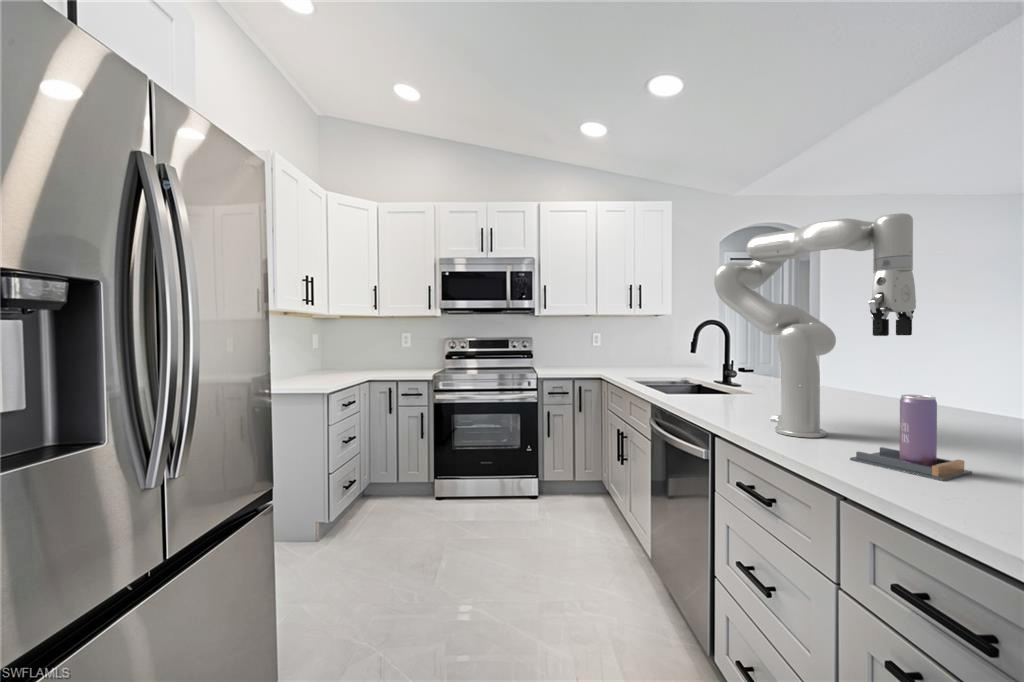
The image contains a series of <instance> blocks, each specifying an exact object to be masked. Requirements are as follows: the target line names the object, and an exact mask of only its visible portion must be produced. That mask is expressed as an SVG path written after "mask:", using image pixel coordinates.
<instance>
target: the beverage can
mask: <svg viewBox="0 0 1024 682" xmlns="http://www.w3.org/2000/svg"><path fill="white" fill-rule="evenodd" d="M936 399H937V397H936V396H933V395H923V394H901V396H900V399H899V451H900V460H902V461H907V462H911V463H916V464H921V465H926V466H931V467H932V465H937V458H938V457H937V455H938V453H937V452H938V451H937V449H938V443H937V442H938V441H937V439H938V436H937V435H938V434H937V433H938V402H937V400H936Z"/></svg>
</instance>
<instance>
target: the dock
mask: <svg viewBox="0 0 1024 682" xmlns="http://www.w3.org/2000/svg"><path fill="white" fill-rule="evenodd" d="M849 461H854V462H858V463H862V464H866V463H867V465H870V464H871V466H875V465H876V467H879V466H881V467H880V468H883V467H885V469H888V468H890V469H889V470H892V469H895V470H894V471H896V470H900V471H899V472H901V471H905V472H909V473H908V474H910V473H914V474H918V475H922V476H921V477H923V476H925V477H924V478H927V477H930V478H929V479H931V478H934V479H933V480H936V479H938V480H937V481H940V480H942V481H941V482H945V481H944V480H946V481H949V479H950V480H953V479H957V478H960V477H964V476H969V475H972V474H973V471H972V470H968V469H965V460H964V459H954V460H950V459H945V458H940V457H937V465H932V467H931V466H926V465H921V464H916V463H911V462H907V461H902V460H900V449H893V448H889V447H883V446H880V447H879V452H874V453H867V452H863V451H856V453H855V456H853V457H850V458H849ZM905 472H904V473H905ZM914 474H913V475H914ZM918 475H917V476H918ZM952 478H953V479H952Z"/></svg>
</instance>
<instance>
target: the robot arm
mask: <svg viewBox="0 0 1024 682" xmlns="http://www.w3.org/2000/svg"><path fill="white" fill-rule="evenodd" d="M745 249H746V254H747V255H748V257H749V258H750V259H751V260H752V261H751V262H750V263H748V262H740V261H739V262H738V261H737V262H736V261H731V262H727V263H724V264H722V265H720V266H719V267H718V268H717V270H716V272H715V273H714V281H713V282H714V283H713V284H714V289H715V292H716V294H717V297H719V298H720V300H721V301H722V302H723V303H724V304H725V305H726V306H728V308H730V309H732V310H733V311H734V312H736V313H737V314H738V315H739V316H741V317H742V318H743V319H744V320H746V321H747V322H748V323H750V324H752V326H754V327H755V328H756V329H758V330H759V331H760V332H762V333H763V334H766V335H771V336H772V335H774V336H775V335H776V336H778V337H777V350H778V354H779V359H780V361H779V362H780V394H781V396H780V406H781V407H780V408H781V409H780V415H777V414H773V415H772V416H771V417H770V418H769V420H770V422H772V423H777V426H775V429H774V430H775V432H776V433H778V434H780V435H786V436H790V437H796V438H797V437H798V438H807V439H808V438H809V439H810V438H811V439H812V438H813V439H814V438H815V439H816V438H824V437H826V436H827V431H826V430H824V429H822V428H821V423H820V422H821V381H820V380H821V379H820V378H821V377H820V376H821V372H820V366H819V361H818V358H817V357H819V356H823V355H827V354H828V353H830V352H831V351H833V349H834V348H835V346H836V342H837V338H836V335H835V332H834V331H833V330H832V329H831V328H830V327H829V326H828V325H827V324H825V323H824V322H822V321H821V320H819V319H818V318H816V317H815V316H813V315H811V314H810V313H808V312H807V311H806V310H804V309H802V308H800V307H799V306H796V305H793V304H788V303H787V304H786V303H776V302H773V301H771V300H769V299H767V298H766V297H765V296H764V295H762V294H761V293H759V292H757V291H755V289H758V288H760V287H762V286H763V285H764V284H765V283H766V282H767V281H768V280H769V279H770V278H771V277H772V276H774V274H775V273H776V272H777V271H778V270H780V269H781V268H782V266H783V265H784V264H785V263H786V262H788V260H795V259H801V258H805V257H807V255H808V254H810V253H812V252H818V251H828V250H839V249H841V250H850V251H855V252H866V251H870V250H872V251H873V258H872V259H873V261H872V262H873V267H872V271H873V272H872V273H873V274H874V275H873V282H872V293H871V299H869V300H868V306H869V309H870V310H869V312H870V314H871V316H870V317H871V320H872V336H873V337H888V336H889V335H890V327H889V326H890V319H889V318H888V316H889V314H890V313H895V315H896V317H897V319H895V335H896V336H912V335H913V319H914V315H913V314H914V313H915V310H916V308H917V299H916V297H917V296H916V285H915V278H914V273H913V269H914V261H913V260H914V259H913V258H914V250H913V249H914V219H913V217H912V215H911V214H909V213H904V212H903V213H899V212H898V213H892V214H891V213H889V214H885V215H882V216H879V217H877V218H876V219H875V220H874V221H864V220H860V219H855V218H839V219H831V220H826V221H819V222H815V223H811V224H808V225H805V226H802V227H798V228H793V229H787V230H780V231H774V232H773V231H772V232H768V233H762V234H757V235H755V236H754V237H752V238H751V239H749V240H748V242H747V244H746V248H745Z"/></svg>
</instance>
